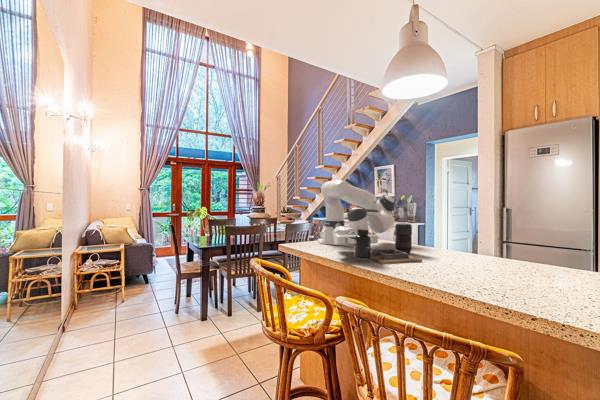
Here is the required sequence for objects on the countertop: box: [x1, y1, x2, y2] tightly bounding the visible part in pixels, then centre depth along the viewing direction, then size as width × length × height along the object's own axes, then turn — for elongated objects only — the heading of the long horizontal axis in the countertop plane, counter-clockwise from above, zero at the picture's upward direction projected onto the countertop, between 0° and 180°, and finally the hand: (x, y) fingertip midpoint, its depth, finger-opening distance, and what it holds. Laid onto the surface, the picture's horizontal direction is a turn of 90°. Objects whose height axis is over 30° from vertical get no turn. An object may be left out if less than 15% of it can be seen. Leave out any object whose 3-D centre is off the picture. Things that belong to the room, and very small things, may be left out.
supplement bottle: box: [354, 229, 372, 259], centre depth 125 cm, size 7×7×12 cm
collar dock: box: [368, 248, 423, 265], centre depth 133 cm, size 20×20×3 cm
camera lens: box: [394, 223, 413, 255], centre depth 146 cm, size 8×8×15 cm
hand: (363, 241), depth 124 cm, fingers closed on supplement bottle, 7 cm apart
